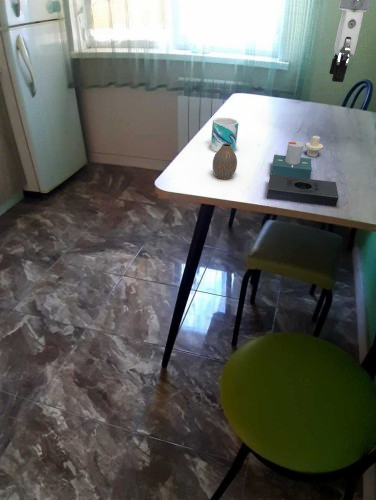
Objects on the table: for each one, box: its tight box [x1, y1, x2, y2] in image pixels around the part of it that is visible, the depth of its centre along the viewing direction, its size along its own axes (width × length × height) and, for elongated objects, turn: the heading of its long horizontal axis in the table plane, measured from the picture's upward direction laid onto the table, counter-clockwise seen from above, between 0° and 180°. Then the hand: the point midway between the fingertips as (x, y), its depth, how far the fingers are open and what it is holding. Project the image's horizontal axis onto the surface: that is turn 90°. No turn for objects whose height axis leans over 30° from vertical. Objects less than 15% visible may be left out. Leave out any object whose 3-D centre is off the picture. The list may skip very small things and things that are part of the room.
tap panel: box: [270, 154, 313, 179], centre depth 121 cm, size 11×9×3 cm
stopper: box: [304, 135, 324, 158], centre depth 132 cm, size 6×6×5 cm
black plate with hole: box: [266, 174, 339, 207], centre depth 111 cm, size 18×10×2 cm, turn 79°
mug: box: [210, 116, 239, 153], centre depth 134 cm, size 8×12×8 cm
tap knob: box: [285, 141, 305, 165], centre depth 119 cm, size 4×4×5 cm
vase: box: [212, 143, 238, 180], centre depth 115 cm, size 7×7×9 cm
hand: (335, 77), depth 121 cm, fingers open, 9 cm apart
